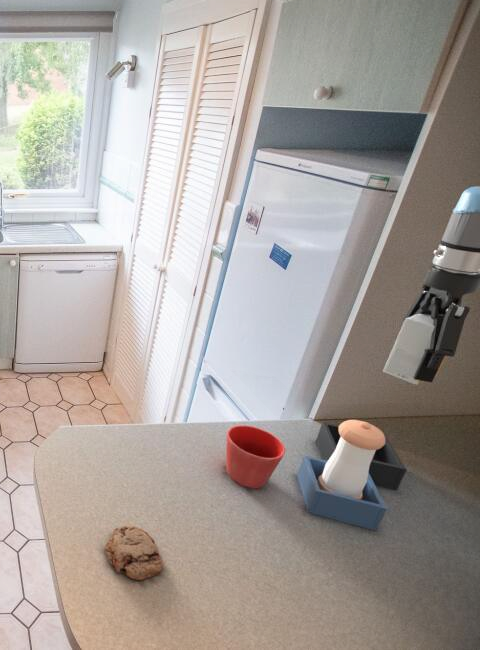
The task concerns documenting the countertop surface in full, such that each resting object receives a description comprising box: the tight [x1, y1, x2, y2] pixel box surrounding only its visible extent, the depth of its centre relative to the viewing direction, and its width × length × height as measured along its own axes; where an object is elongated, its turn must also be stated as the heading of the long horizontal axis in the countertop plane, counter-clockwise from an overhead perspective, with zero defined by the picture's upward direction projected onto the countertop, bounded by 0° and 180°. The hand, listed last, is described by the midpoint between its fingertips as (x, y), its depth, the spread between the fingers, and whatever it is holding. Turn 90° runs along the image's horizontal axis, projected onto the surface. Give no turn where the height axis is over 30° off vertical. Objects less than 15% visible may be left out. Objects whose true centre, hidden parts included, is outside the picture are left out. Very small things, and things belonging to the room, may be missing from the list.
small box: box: [382, 314, 447, 386], centre depth 95 cm, size 8×6×13 cm
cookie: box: [104, 525, 164, 581], centre depth 82 cm, size 10×11×3 cm
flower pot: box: [225, 424, 286, 489], centre depth 99 cm, size 11×11×10 cm
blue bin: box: [296, 455, 387, 532], centre depth 93 cm, size 11×11×6 cm
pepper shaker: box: [317, 419, 385, 500], centre depth 90 cm, size 7×7×19 cm
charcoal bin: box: [315, 421, 407, 491], centre depth 103 cm, size 12×12×6 cm
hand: (412, 367), depth 97 cm, fingers closed on small box, 10 cm apart
